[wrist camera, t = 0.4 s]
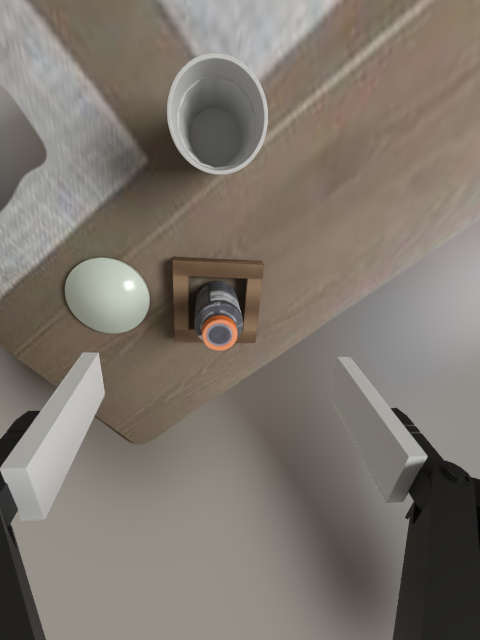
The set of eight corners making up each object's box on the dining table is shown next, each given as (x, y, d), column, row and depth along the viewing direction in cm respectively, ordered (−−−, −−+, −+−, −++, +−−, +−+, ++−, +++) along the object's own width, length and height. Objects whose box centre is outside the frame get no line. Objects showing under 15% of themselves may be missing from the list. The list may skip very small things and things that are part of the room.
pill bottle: (210, 324, 44) (210, 367, 33) (188, 293, 41) (181, 328, 31) (244, 305, 43) (255, 343, 33) (224, 272, 40) (229, 302, 30)
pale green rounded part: (60, 254, 37) (57, 256, 36) (147, 259, 39) (146, 260, 38) (74, 330, 42) (72, 332, 41) (152, 331, 43) (151, 334, 42)
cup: (224, 191, 36) (231, 194, 25) (167, 148, 33) (147, 131, 23) (262, 130, 34) (287, 105, 23) (204, 79, 31) (202, 23, 20)
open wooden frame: (174, 256, 39) (172, 260, 37) (261, 261, 40) (263, 264, 38) (175, 335, 44) (174, 341, 42) (253, 336, 45) (255, 342, 43)
